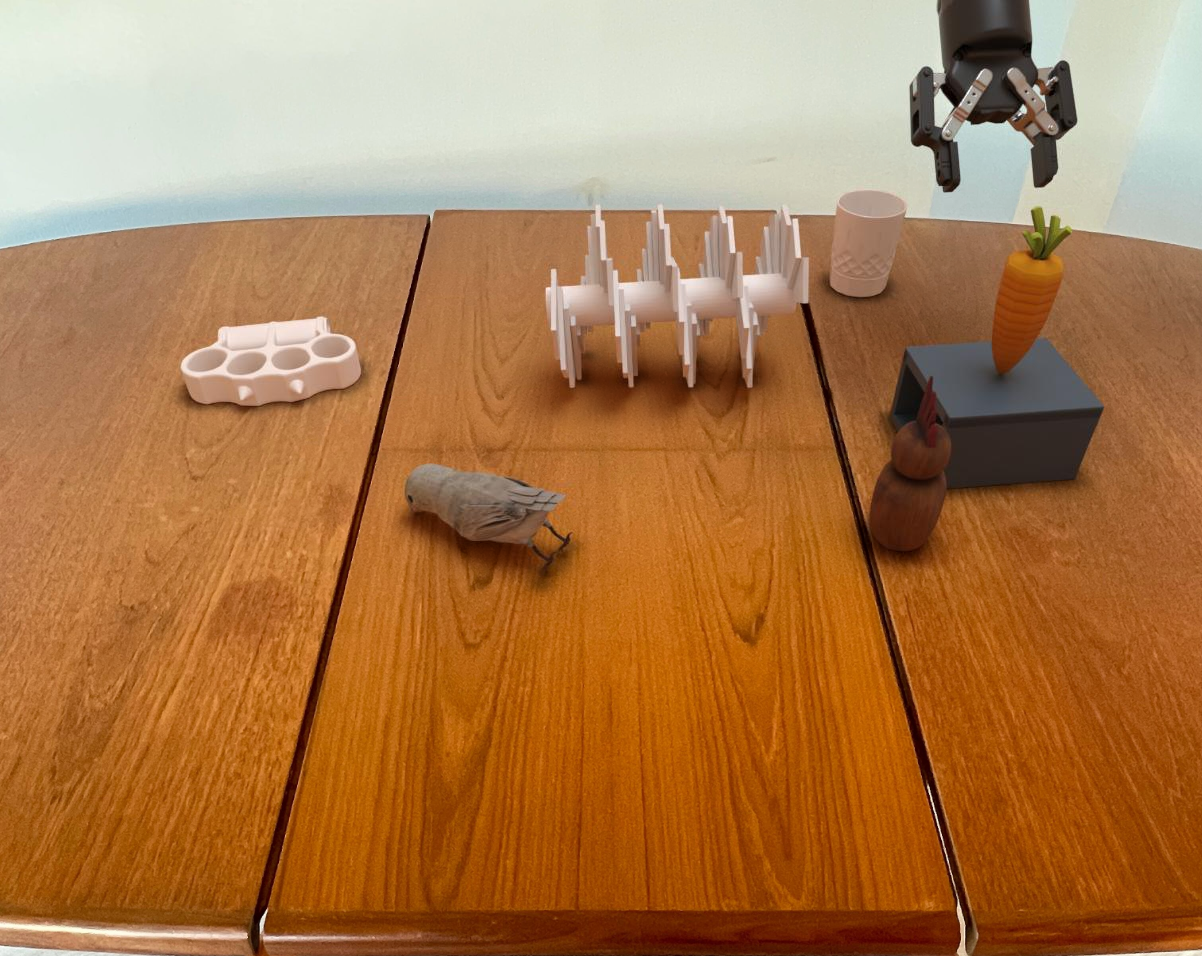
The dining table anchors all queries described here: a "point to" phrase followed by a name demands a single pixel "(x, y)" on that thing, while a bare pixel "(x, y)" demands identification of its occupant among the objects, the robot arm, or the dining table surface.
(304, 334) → the white brass knuckles
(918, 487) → the wooden figurine
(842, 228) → the white cup
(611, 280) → the spiral staircase
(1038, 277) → the carrot
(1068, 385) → the shelf
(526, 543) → the decorative bird
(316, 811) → the dining table surface
